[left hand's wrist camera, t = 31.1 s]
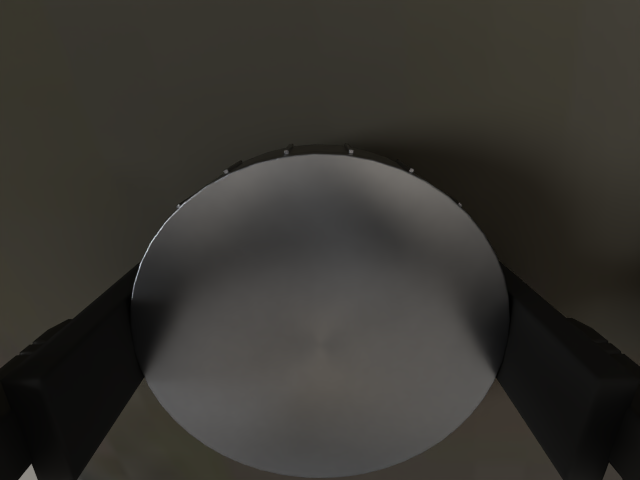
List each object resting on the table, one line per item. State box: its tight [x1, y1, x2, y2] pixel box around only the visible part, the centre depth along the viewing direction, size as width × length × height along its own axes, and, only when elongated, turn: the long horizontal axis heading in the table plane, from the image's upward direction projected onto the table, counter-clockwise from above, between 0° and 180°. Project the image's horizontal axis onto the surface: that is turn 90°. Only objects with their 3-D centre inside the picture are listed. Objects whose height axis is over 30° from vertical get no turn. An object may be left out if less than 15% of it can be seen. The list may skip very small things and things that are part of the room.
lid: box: [130, 144, 510, 478], centre depth 11 cm, size 10×11×2 cm
